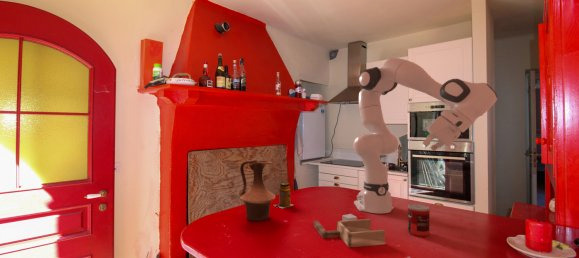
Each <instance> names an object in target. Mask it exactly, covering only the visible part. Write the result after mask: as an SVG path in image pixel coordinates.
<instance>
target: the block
mask: <svg viewBox="0 0 579 258" xmlns="http://www.w3.org/2000/svg"><path fill="white" fill-rule="evenodd" d="M341 216H342V218H341V219H342V220H341V221H347V220H358V217H357V216H356V215H354V214H353V213H349V214H343V215H341Z"/></svg>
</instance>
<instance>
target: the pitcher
mask: <svg viewBox="0 0 579 258" xmlns="http://www.w3.org/2000/svg"><path fill="white" fill-rule="evenodd" d="M272 164H273V162H272V161H270V160H261V161H258V160H257V159H252V160H251V159H250V160H244V161H243V162H242V163H241V165H240V169H239V170H240V175H241V178H242V182H243V187H242V191H241V192H240V193H239V195H238V199H240V200H241V201H243V203H244V204H245V205H244V206H245V207H244V208H245V212H246V219H247V220H249V221H250V222H263V221H267V220H268V219H270V210H271V209H270V208H271V202H272V201H273V200H275V199H276V195H275V194H274V193H272V192H271V191H270V190H268V189H267V187H266V186H265V184H264V181H263V171H264V169H265V167H266V166H267V165H272ZM245 165H247V166H248V168H250V169H251V171H253V181H252V184H251V185H250V187H249V189H248V190H247V179H246V173H245V170H244V167H245Z"/></svg>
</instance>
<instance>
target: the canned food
mask: <svg viewBox="0 0 579 258" xmlns="http://www.w3.org/2000/svg"><path fill="white" fill-rule="evenodd" d="M430 215H431V214H430V207H429V206H428V205H425V204H420V203H410V204H408V205H407V231H408V233H409V234H410V235H411V236H414V237H418V238H427V237H429V236H430Z"/></svg>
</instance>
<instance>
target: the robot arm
mask: <svg viewBox="0 0 579 258" xmlns="http://www.w3.org/2000/svg"><path fill="white" fill-rule="evenodd" d="M358 84H359V86H360V87H361V88H362V89H361V90H360V91H359V93H358V110H359V111H358V112H359V116H360V122H361V125H362V126H363V127H364V128H365V129H367V131H368V132H369V134H367V133H366V134H363V135H359V136H356V137H355V138H354V140H353V143H352V144H353V145H352V147H353V150H354V153H356V155H358V156H359V158H360V159H361V160H362V163H363V166H364V180H365V181H363V189H362V190H360V192H358V194H357V195H356V200H354V201H353V205H355V207H356V208H357V210H358V211H360V212H365V213H370V214H388V213H391V212H392V210H394V208H395V207H394V205H392V204H393V203H392V195H391V192H390V191H389V190H390V186H389V184H390V183H389V181H388V180H389V179H388V175H389V174H388V172H389V170H388V167H387V165H385V164H384V163H383V162H382V161H381V157H380V156H386V155H389V154H390V155H391V154H393V153H395V152H396V151H397V150H398V148H399V139H398V138H397V137H396V136H395V135H394V134H393V133H391V132H390V130H389V128H388V127H387V124H386V123H385V120H384V116H383V115H384V114H383V111H382V110H383V109H382V105H381V95H382V96H385V95H387V94H388V93H390V92H392V91H393V90H394V89H396V88H397V86H398V84H399V85H401V86H403V87H406V88H409V89H413V90H414V91H418V92H421V93H423V94H426V95H428V96H431V97H432V98H435V99H437V100H439V101H441V102H443V103H445V104H446V105H448V107H450V109H449V110H448V109H444V110H442V111H441V112H440V115H439V116H437V118H436V119H435V120H433V121H432V122H431V124H429V126H428V127H427V128H426V131H427V132H428V133H429V134H428V135H427V136H426V138H425V139H424V140H423V141H422V144H423V145H424V146H425V147H428V146H429V145H430V144H431V142H432V141H433V140H435V139H437V140H438V141H437V142H435V143H434V144H432V146H430V149H431V150H432V151H437V150H438V149H439V148H442V147H444V145H445V146H446V147H449V146H451V145H452V144H453V143H454V142H455V141H456V140H457V139H458V138H459V137H460V136H461V133H464V132H466V130H468V129H469V128H471V126H472V125H473V124H474V123H475V121H476V120H477V119H478V118H479V117H481V116H483V115H485V114H486V113H487V112H488V111H489V110H490V109H491V108H492V107H493V106H494V104H496V102H497V101H498V94H497V92H496V91H495V89H493V88H492V86H490V85H489V84H487V83H486V82H478V83H477V82H469V81H465V80H462V79H461V78H451V79H448V80H447V81H445V82H444V83H443V84H442V83H440V82H438V81H436V80H435V79H434V78H433V77H432V76H431V75H430V74H429V73H428V72H427V71H426V70H425V69H424V68H423V67H421V66H420V65H419V64H417V63H415V62H414V61H410V60H407V59H404V58H398V57H391V58H389V59H387V60H386V61H385V62H384V63H383V65H382V67H380V68H379V67H378V66H375V67H371V68H367V69H364V70H362V71H361V72H360V73H359V76H358Z"/></svg>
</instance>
